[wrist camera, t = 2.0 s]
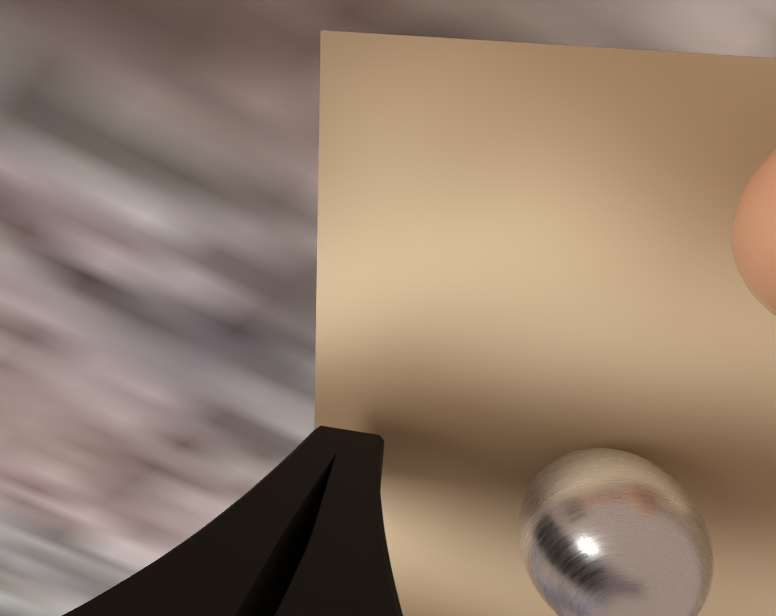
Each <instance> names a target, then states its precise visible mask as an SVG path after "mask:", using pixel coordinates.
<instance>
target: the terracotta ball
mask: <svg viewBox="0 0 776 616" xmlns="http://www.w3.org/2000/svg"><path fill="white" fill-rule="evenodd" d="M731 245H732V250H733V255H734V260H735V263H736V266H737V269H738V272H739V274H740V276H741V277H742V279H743V281H744V283H745V284H746V286H747V288H748V289H749V291H750V292H751V293H752V294H753V295H754V297H755V298H756V299H757V300H758V301H759V302H760V303H761V304H762V305H763V306H764V307H765V308H766V309H768V310H769V311H770V312H771V313H772V314H773V315H774V316H776V148H775V149H774V150H773V151H772V152H771V153H770V154H769V155H768V156H767V157H766V158H765V159H764V160H763V161H762V162H761V164H760V165H759V166H758V167H757V169H756V170H755V171H754V173H753V174H752V175H751V177H750V178H749V180H748V181H747V183H746V185H745V187H744V189H743V190H742V192H741V195H740V197H739V200H738V202H737V205H736V208H735V212H734V215H733V220H732V228H731Z"/></svg>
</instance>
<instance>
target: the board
mask: <svg viewBox="0 0 776 616" xmlns="http://www.w3.org/2000/svg"><path fill="white" fill-rule="evenodd" d="M775 148H776V58H764V57H748V56H732V55H716V54H699V53H683V52H667V51H650V50H634V49H618V48H601V47H585V46H569V45H553V44H536V43H520V42H504V41H487V40H471V39H455V38H438V37H422V36H406V35H390V34H373V33H357V32H341V31H324V30H321V39H320V105H319V170H318V235H317V300H316V366H315V429H316V428H318V427H319V426H327V427H333V428H339V429H346V430H352V431H358V432H364V433H371V434H377V435H380V436H381V437H382V438H383V440H384V453H383V465H382V477H381V489H380V492H381V503H382V512H383V522H384V528H385V535H386V541H387V547H388V552H389V558H390V563H391V568H392V572H393V577H394V581H395V586H396V590H397V594H398V598H399V602H400V606H401V610H402V614H403V616H558V615H557V614H556V613H555V612H554V611H553V610H552V609H551V608H550V607H549V606H548V605H547V603H546V602H545V601H544V600H543V598H542V597H541V596H540V594H539V593H538V592H537V590H536V588H535V587H534V585H533V583H532V581H531V580H530V578H529V576H528V573H527V571H526V569H525V566H524V563H523V560H522V557H521V552H520V547H519V541H518V520H519V513H520V508H521V504H522V501H523V498H524V496H525V493H526V491H527V489H528V488H529V486H530V484H531V483H532V481H533V480H534V479H535V477H536V476H537V475H538V474H539V473H540V471H541V470H542V469H543V468H545V467H546V466H547V465H549V464H550V463H551V462H553V461H554V460H556V459H557V458H559V457H561V456H563V455H565V454H568V453H571V452H574V451H577V450H582V449H588V448H610V449H616V450H621V451H626V452H629V453H632V454H635V455H638V456H640V457H642V458H644V459H646V460H648V461H650V462H652V463H654V464H656V465H657V466H659V467H661V468H662V469H663V470H664V471H666V472H667V473H668V474H669V475H671V476H672V477H673V478H674V479H676V480H677V482H678V483H679V484H680V485H681V486H682V487H683V488H684V489H685V490H686V491H687V492H688V493H689V495H690V496H691V498H692V499H693V501H694V502H695V504H696V505H697V507H698V508H699V510H700V512H701V514H702V516H703V518H704V521H705V523H706V525H707V527H708V530H709V534H710V538H711V542H712V546H713V556H714V572H713V579H712V586H711V589H710V592H709V594H708V597H707V600H706V602H705V604H704V606H703V608H702V609H701V611H700V612H699V613H698V615H697V616H776V316H774V315H773V314H772V313H771V312H770V311H769V310H768V309H766V308H765V307H764V306H763V305H762V304H761V303H760V302H759V301H758V300H757V299H756V298H755V297H754V295H753V294H752V293H751V292H750V291H749V289H748V288H747V286H746V284H745V283H744V281H743V279H742V277H741V276H740V274H739V272H738V269H737V266H736V263H735V260H734V255H733V250H732V245H731V228H732V220H733V215H734V212H735V208H736V205H737V202H738V200H739V197H740V195H741V192H742V190H743V189H744V187H745V185H746V183H747V181H748V180H749V178H750V177H751V175H752V174H753V173H754V171H755V170H756V169H757V167H758V166H759V165H760V164H761V162H762V161H763V160H764V159H765V158H766V157H767V156H768V155H769V154H770V153H771V152H772V151H773V150H774V149H775Z"/></svg>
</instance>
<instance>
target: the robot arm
mask: <svg viewBox="0 0 776 616" xmlns="http://www.w3.org/2000/svg"><path fill="white" fill-rule="evenodd" d="M383 453H384V440H383V438H382V437H381V436H380V435H377V434H371V433H364V432H358V431H352V430H346V429H339V428H333V427H327V426H319V427H318V428H316V429H315V430H314V431H313V432H312V433H311V434H310V435H309V436H308V437H307V438H306V439H305V440H304V441H303V442H302V443H301V444H300V445H299V446H298V447H297V448H296V449H295V450H294V451H293V452H292V453H291V454H289V455H288V456H287V457H286V458H285V459H284V460H283V461H282V462H281V463H280V464H279V465H278V466H277V467H276V468H274V469H273V470H272V471H271V472H270V473H269V474H268V475H267V476H265V477H264V478H263V479H262V480H261V481H260V482H259V483H258V484H256V485H255V486H254V487H253V488H252V489H251V490H250V491H248V492H247V493H246V494H245V495H244V496H243V497H241V498H240V499H239V500H238V501H236V502H235V503H234V504H233V505H231V506H230V507H229V508H228V509H226V510H225V511H224V512H223V513H221V514H220V515H219V516H218V517H216V518H215V519H214V520H213V521H211V522H210V523H209V524H207V525H206V526H205V527H203V528H202V529H201V530H199V531H198V532H197V533H195V534H194V535H192V536H191V537H190V538H188V539H187V540H185V541H184V542H183V543H181V544H180V545H178V546H177V547H175V548H174V549H172V550H171V551H169V552H168V553H166V554H165V555H164V556H162V557H161V558H159V559H158V560H156V561H155V562H153V563H151V564H150V565H148V566H147V567H145V568H143V569H142V570H140V571H139V572H137V573H135V574H134V575H132V576H131V577H129V578H127V579H126V580H124V581H122V582H121V583H119V584H117V585H116V586H114V587H112V588H111V589H109V590H107V591H105V592H104V593H102V594H100V595H99V596H97V597H95V598H94V599H92V600H90V601H88V602H87V603H85V604H83V605H81V606H79V607H77V608H76V609H74V610H72V611H70V612H68V613H66V614H64V615H62V616H403V614H402V610H401V606H400V602H399V598H398V594H397V590H396V586H395V581H394V577H393V572H392V568H391V563H390V558H389V552H388V547H387V541H386V535H385V528H384V522H383V512H382V503H381V492H380V489H381V477H382V465H383Z"/></svg>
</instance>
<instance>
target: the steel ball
mask: <svg viewBox="0 0 776 616" xmlns="http://www.w3.org/2000/svg"><path fill="white" fill-rule="evenodd" d="M518 541H519V547H520V552H521V557H522V560H523V563H524V566H525V569H526V571H527V573H528V576H529V578H530V580H531V581H532V583H533V585H534V587H535V588H536V590H537V592H538V593H539V594H540V596H541V597H542V598H543V600H544V601H545V602H546V603H547V605H548V606H549V607H550V608H551V609H552V610H553V611H554V612H555V613H556V614H557V615H558V616H697V615H698V613H699V612H700V611H701V609H702V608H703V606H704V604H705V602H706V600H707V597H708V594H709V592H710V589H711V586H712V579H713V572H714V556H713V546H712V542H711V538H710V534H709V530H708V527H707V525H706V523H705V521H704V518H703V516H702V514H701V512H700V510H699V508H698V507H697V505H696V504H695V502H694V501H693V499H692V498H691V496H690V495H689V493H688V492H687V491H686V490H685V489H684V488H683V487H682V486H681V485H680V484H679V483H678V482H677V480H676V479H674V478H673V477H672V476H671V475H669V474H668V473H667V472H666V471H664V470H663V469H662V468H661V467H659V466H657V465H656V464H654V463H652V462H650V461H648V460H646V459H644V458H642V457H640V456H638V455H635V454H632V453H629V452H626V451H621V450H616V449H610V448H588V449H582V450H577V451H574V452H571V453H568V454H565V455H563V456H561V457H559V458H557V459H556V460H554V461H553V462H551V463H550V464H549V465H547V466H546V467H545V468H543V469H542V470H541V471H540V473H539V474H538V475H537V476H536V477H535V479H534V480H533V481H532V483H531V484H530V486H529V488H528V489H527V491H526V493H525V496H524V498H523V501H522V504H521V508H520V513H519V520H518Z"/></svg>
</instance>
